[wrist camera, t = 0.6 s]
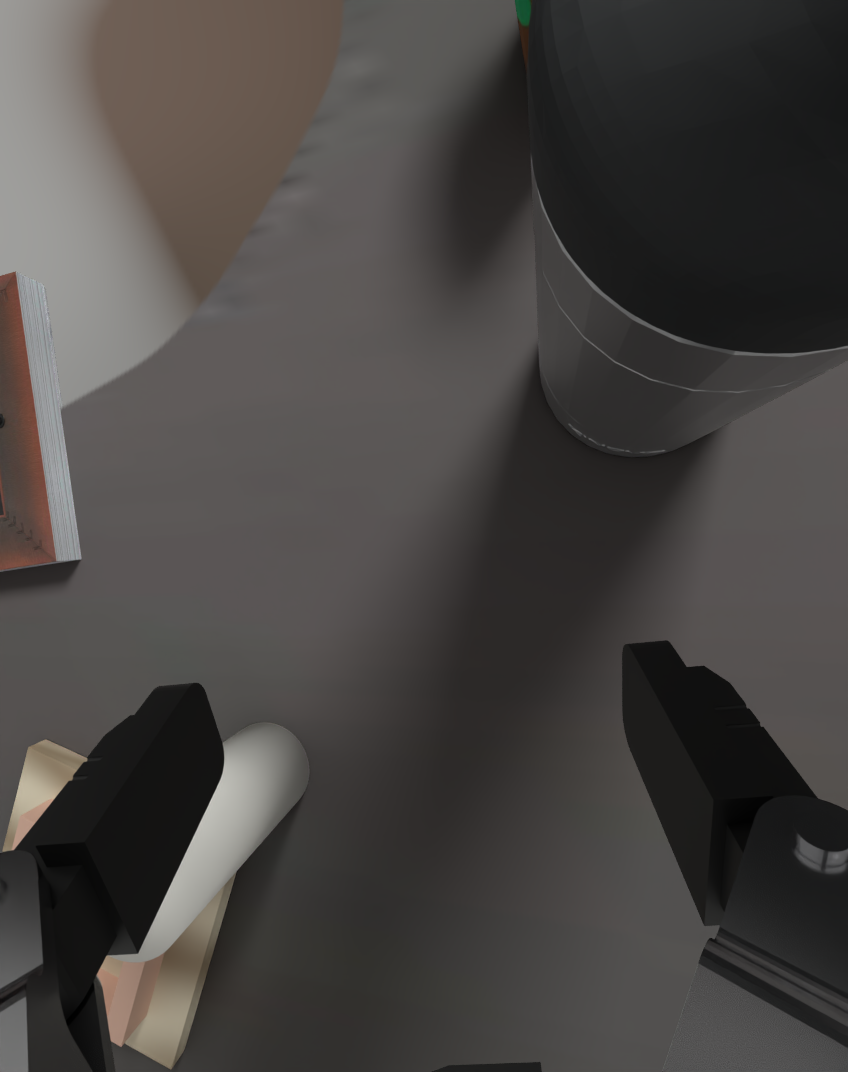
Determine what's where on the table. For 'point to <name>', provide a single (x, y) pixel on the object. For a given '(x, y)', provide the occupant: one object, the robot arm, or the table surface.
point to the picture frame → (31, 435)
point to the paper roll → (231, 826)
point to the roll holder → (129, 988)
